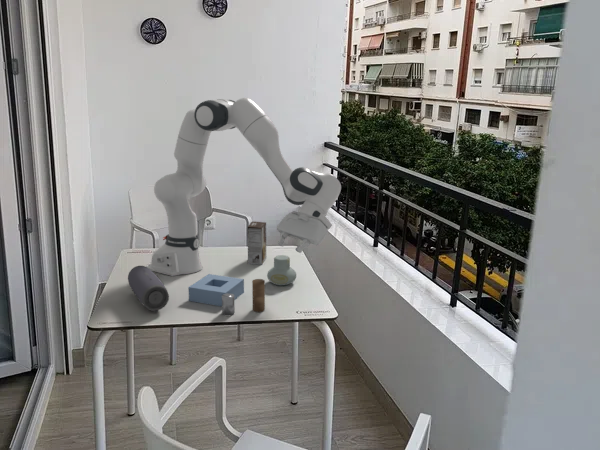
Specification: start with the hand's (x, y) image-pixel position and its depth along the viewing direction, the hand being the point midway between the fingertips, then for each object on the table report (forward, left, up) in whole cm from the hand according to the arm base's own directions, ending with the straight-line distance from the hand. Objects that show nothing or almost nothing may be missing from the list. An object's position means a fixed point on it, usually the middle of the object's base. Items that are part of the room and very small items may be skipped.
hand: (288, 248), depth 173 cm
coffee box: (-27, +35, -19) cm, 48 cm away
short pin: (-14, -17, -19) cm, 29 cm away
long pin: (-6, -11, -19) cm, 23 cm away
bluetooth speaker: (-43, -19, -19) cm, 51 cm away
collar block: (-24, -6, -19) cm, 31 cm away
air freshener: (-8, +15, -19) cm, 25 cm away
